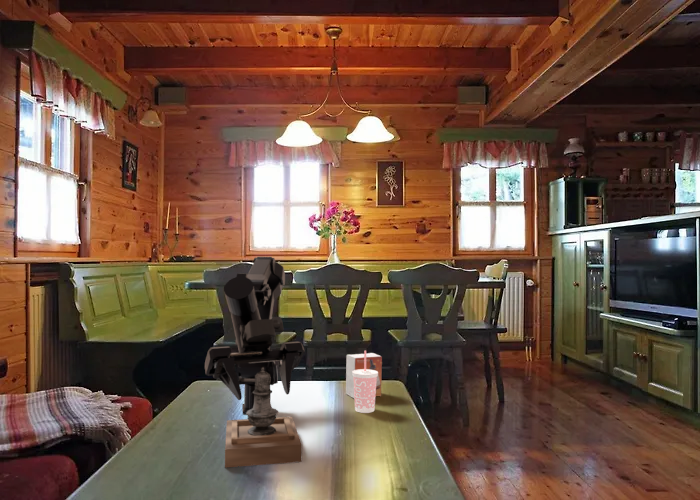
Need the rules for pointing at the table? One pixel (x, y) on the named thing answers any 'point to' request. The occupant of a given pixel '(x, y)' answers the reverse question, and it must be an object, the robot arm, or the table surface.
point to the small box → (358, 363)
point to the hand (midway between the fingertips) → (264, 396)
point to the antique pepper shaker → (262, 407)
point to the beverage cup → (365, 388)
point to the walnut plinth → (262, 444)
